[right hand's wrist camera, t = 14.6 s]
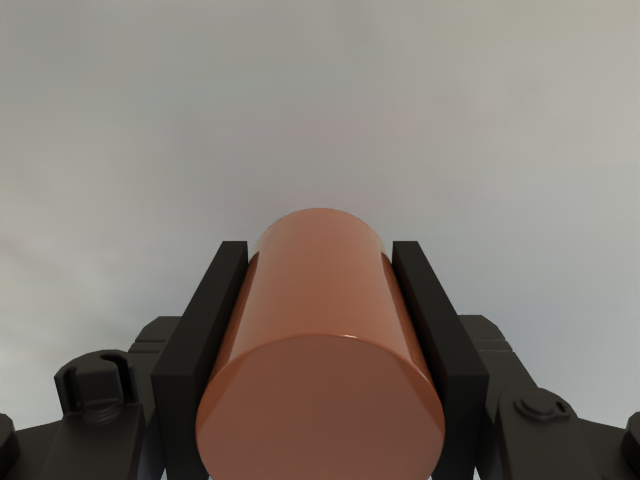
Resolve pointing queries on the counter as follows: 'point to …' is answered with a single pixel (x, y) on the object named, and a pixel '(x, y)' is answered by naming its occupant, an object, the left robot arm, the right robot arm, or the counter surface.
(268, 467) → the terracotta cylinder
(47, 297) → the counter surface
